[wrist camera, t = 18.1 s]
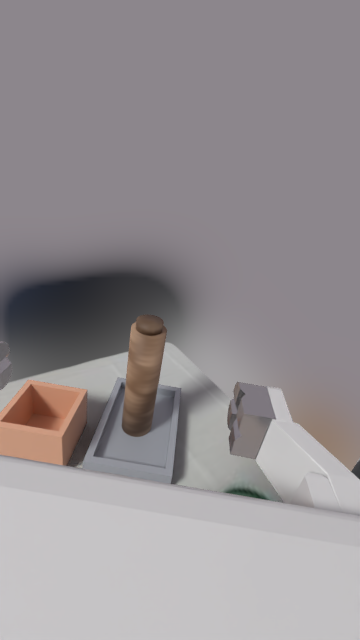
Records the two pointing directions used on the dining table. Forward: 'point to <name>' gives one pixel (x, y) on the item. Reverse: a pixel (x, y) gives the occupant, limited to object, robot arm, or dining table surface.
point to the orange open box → (43, 422)
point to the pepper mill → (143, 374)
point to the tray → (136, 439)
